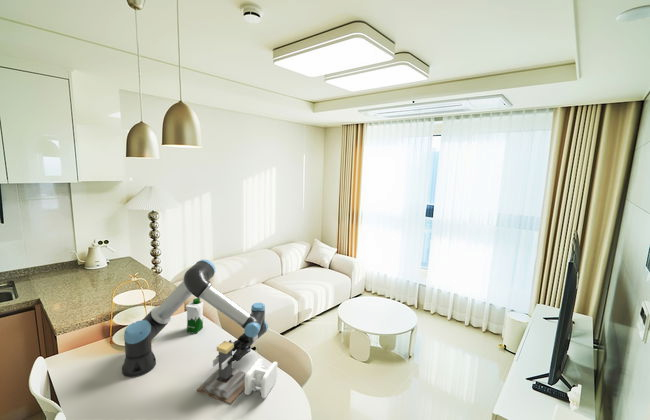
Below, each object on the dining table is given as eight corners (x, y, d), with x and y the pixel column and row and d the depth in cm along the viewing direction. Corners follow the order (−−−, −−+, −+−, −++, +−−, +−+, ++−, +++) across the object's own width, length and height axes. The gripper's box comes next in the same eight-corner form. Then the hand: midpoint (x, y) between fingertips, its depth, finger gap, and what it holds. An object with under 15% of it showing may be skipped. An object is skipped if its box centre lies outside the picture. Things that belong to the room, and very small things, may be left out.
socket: (196, 390, 141) (196, 381, 140) (219, 370, 156) (219, 361, 155) (230, 404, 134) (230, 395, 133) (251, 381, 149) (251, 373, 148)
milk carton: (205, 327, 195) (204, 298, 192) (196, 334, 186) (196, 305, 183) (192, 325, 196) (192, 297, 193) (184, 332, 187) (183, 303, 184)
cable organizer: (263, 403, 136) (264, 380, 134) (243, 397, 139) (243, 375, 137) (277, 381, 150) (278, 360, 149) (258, 376, 153) (259, 355, 151)
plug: (216, 377, 143) (216, 347, 140) (224, 369, 148) (224, 340, 145) (226, 380, 141) (226, 350, 138) (233, 373, 146) (233, 343, 143)
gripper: (261, 349, 157) (232, 378, 135) (234, 341, 163) (203, 367, 141) (261, 336, 156) (232, 363, 134) (234, 328, 162) (203, 353, 140)
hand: (217, 365), depth 138 cm, fingers closed on plug, 4 cm apart
